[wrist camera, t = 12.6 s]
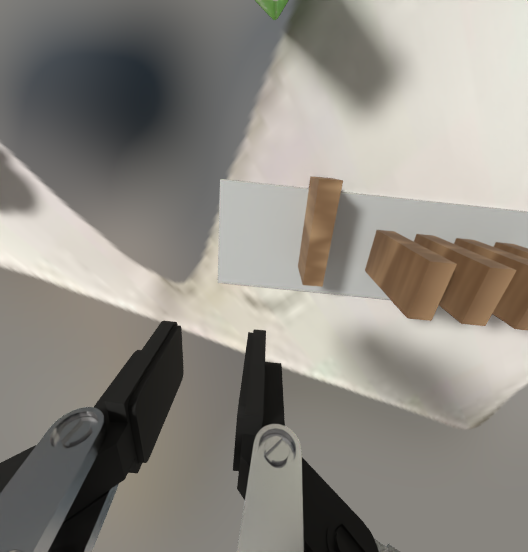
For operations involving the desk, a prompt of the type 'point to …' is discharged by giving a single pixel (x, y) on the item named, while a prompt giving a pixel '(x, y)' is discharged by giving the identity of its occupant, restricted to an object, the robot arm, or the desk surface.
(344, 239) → the runner mat
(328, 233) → the domino
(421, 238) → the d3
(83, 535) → the robot arm
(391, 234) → the d4
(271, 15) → the ink box
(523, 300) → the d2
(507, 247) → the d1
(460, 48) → the desk surface
